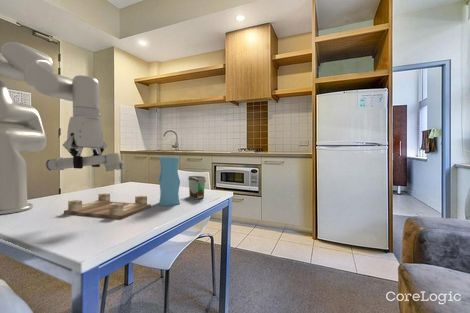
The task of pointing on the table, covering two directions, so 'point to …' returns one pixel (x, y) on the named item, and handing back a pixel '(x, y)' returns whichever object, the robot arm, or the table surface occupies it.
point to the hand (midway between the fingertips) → (87, 167)
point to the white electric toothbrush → (88, 162)
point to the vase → (169, 181)
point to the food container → (196, 187)
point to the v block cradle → (107, 207)
